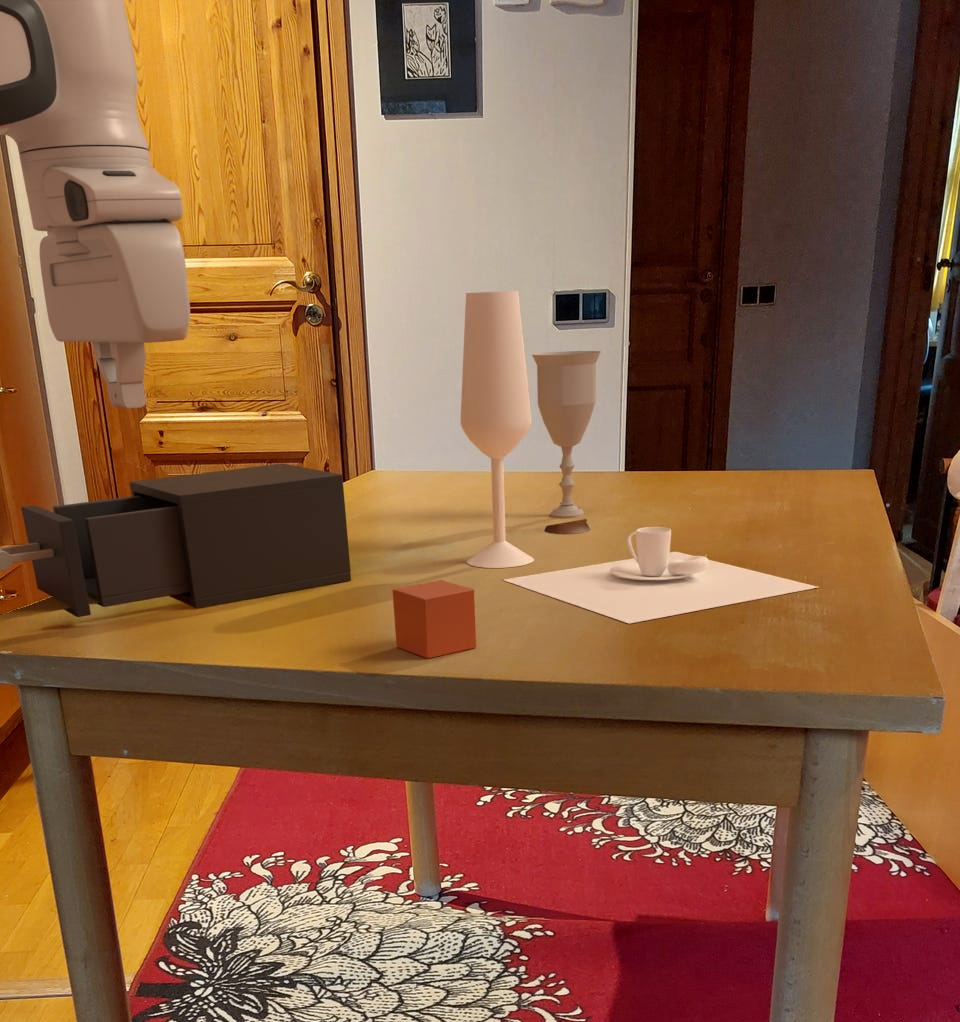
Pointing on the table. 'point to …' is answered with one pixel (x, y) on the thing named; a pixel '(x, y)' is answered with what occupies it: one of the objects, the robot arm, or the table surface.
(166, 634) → the table surface
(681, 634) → the table surface
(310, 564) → the drawer cabinet
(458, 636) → the block
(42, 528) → the dark grey drawer
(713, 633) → the table surface
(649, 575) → the teacup and saucer
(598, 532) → the table surface
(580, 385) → the chalice
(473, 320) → the champagne flute
